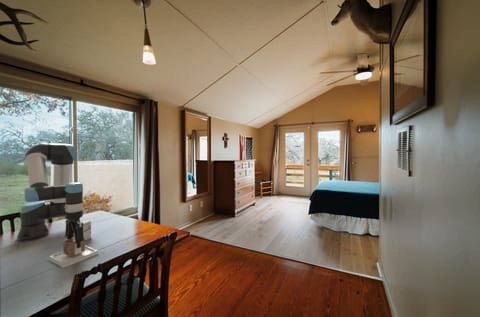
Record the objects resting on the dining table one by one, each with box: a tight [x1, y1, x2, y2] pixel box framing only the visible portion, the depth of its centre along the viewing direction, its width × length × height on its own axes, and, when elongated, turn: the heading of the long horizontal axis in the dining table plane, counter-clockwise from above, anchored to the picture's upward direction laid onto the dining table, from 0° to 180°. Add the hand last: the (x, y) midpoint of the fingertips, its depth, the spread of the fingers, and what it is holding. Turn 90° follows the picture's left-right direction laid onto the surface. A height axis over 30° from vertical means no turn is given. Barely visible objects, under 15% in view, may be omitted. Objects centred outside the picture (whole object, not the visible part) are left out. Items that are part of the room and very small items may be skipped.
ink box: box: [73, 219, 92, 241], centre depth 131 cm, size 9×5×12 cm, turn 168°
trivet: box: [48, 244, 99, 269], centre depth 110 cm, size 16×16×2 cm
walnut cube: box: [62, 237, 86, 256], centre depth 110 cm, size 7×7×7 cm
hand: (74, 251), depth 110 cm, fingers closed on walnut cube, 7 cm apart
